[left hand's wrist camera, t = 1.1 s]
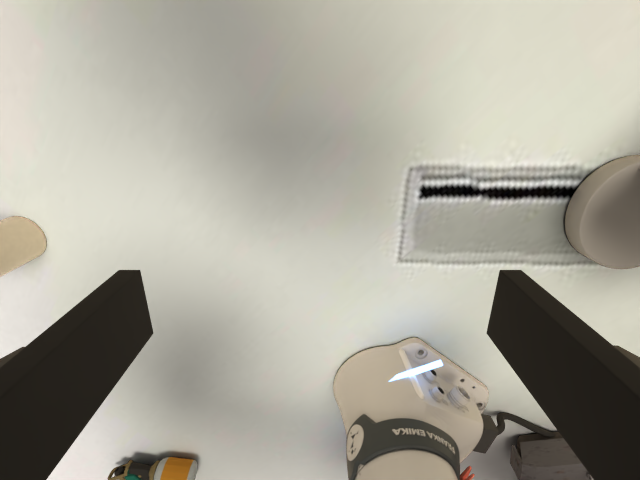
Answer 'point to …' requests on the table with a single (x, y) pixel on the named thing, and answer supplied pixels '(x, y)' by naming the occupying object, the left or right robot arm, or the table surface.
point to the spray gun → (157, 470)
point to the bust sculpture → (608, 215)
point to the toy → (546, 459)
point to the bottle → (19, 243)
